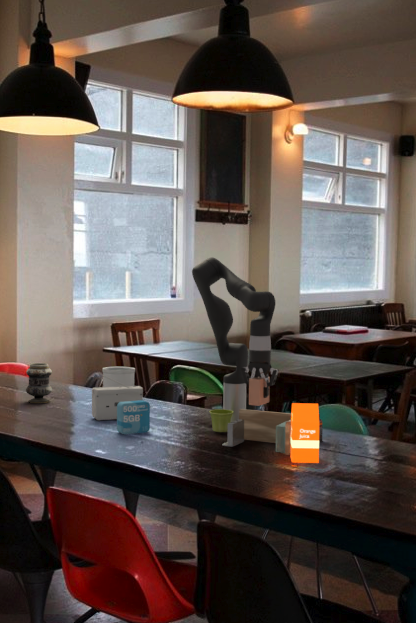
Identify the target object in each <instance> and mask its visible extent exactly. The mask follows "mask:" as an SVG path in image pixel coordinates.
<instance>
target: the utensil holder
mask: <svg viewBox="0 0 416 623" xmlns="http://www.w3.org/2000/svg"><path fill="white" fill-rule="evenodd" d="M135 373H136V368H135V367H129V366H107V367H102V375H104V376H106V377H108V378H110V379H113V380H115V381H117V382H119V383H121V384H123V385H125V386H135ZM104 376H102V382H103V383H102V387H123V385H121V384H119V383H117V382H114V381H112V380H110V379H108V378H106V377H104Z"/></svg>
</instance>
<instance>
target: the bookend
mask: <svg viewBox="0 0 416 623" xmlns="http://www.w3.org/2000/svg"><path fill="white" fill-rule="evenodd" d="M244 442H245V440H244V420H243V419H238V420H236V421H233V422H231V423H228V432H227V441H226V442H224V443H222V447H223V446H224V447H231V448H232V447H235V446H238V445H239V444H242V443H244Z"/></svg>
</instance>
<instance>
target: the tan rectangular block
mask: <svg viewBox="0 0 416 623" xmlns="http://www.w3.org/2000/svg"><path fill="white" fill-rule="evenodd" d="M268 377H269V382H270V379H271V376H268ZM250 378H251V377H250ZM263 390H264V384H263V379H262V378H260V377H255V378H251V379H249V385H248V405H249V406H258V407H259V406H260V407H261V406H263V405H265V404H267V403H270V395H269V396H267V398H264V397H263Z"/></svg>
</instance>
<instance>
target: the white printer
mask: <svg viewBox="0 0 416 623" xmlns="http://www.w3.org/2000/svg"><path fill="white" fill-rule="evenodd" d="M97 374H98V375H101V376H102V377H103V376H104V375H103V374H101V373H100V372H98V373H97ZM104 377H106V376H104ZM106 378H108V377H106ZM108 379H110V378H108ZM110 380H112V381H114V382H117V381H115V380H113V379H110ZM117 383H119V382H117ZM119 384H121V383H119ZM121 385H123V384H121ZM143 392H144V388H143V387H142V386H141V385H134V386H125V385H123V387H103V386H102V387H100V386H99V387H92V388H91V416H92V417H93V418H94V419H95V420H96V421H110V420H117V404H118V403H119V402H125V401H138V400H143V398H144V397H143V396H144V393H143ZM143 401H144V400H143Z"/></svg>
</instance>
